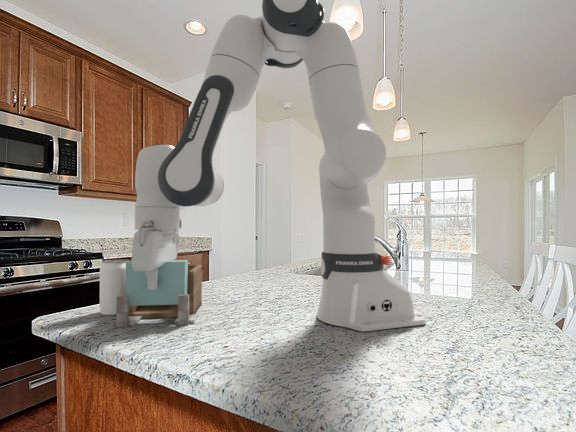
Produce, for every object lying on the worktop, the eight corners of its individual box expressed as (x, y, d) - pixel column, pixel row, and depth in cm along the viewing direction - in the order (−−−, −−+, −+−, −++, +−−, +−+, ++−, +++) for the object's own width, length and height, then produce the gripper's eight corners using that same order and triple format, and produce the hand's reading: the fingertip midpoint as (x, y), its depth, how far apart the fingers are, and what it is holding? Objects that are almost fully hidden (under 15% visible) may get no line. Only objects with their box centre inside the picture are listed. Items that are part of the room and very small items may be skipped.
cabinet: (205, 303, 83) (205, 264, 83) (193, 324, 66) (193, 275, 66) (140, 305, 81) (140, 265, 81) (111, 327, 65) (111, 277, 65)
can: (117, 316, 72) (117, 262, 72) (92, 315, 73) (93, 262, 74) (136, 309, 78) (136, 259, 79) (113, 307, 80) (113, 259, 80)
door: (187, 301, 71) (187, 260, 72) (183, 305, 67) (184, 262, 68) (130, 302, 70) (131, 260, 70) (123, 306, 66) (124, 262, 66)
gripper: (158, 221, 59) (158, 297, 59) (183, 221, 79) (183, 278, 79) (122, 221, 58) (121, 298, 58) (156, 221, 79) (156, 278, 79)
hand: (157, 286), depth 69 cm, fingers closed on door, 4 cm apart
